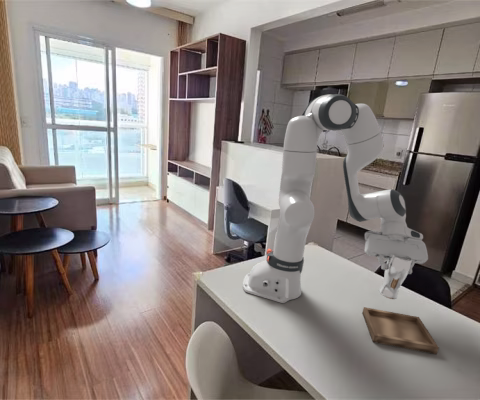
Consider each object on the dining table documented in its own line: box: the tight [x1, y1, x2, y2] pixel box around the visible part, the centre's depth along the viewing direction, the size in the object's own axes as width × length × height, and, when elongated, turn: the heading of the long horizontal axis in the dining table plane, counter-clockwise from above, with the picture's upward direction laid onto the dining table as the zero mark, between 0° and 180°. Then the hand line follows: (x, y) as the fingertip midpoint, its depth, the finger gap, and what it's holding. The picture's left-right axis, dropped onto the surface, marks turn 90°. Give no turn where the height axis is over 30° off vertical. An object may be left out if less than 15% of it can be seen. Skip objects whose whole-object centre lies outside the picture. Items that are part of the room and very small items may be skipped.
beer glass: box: [378, 252, 412, 300], centre depth 101 cm, size 7×7×15 cm
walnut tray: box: [361, 306, 440, 355], centre depth 94 cm, size 18×14×2 cm
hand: (396, 271), depth 100 cm, fingers closed on beer glass, 6 cm apart
